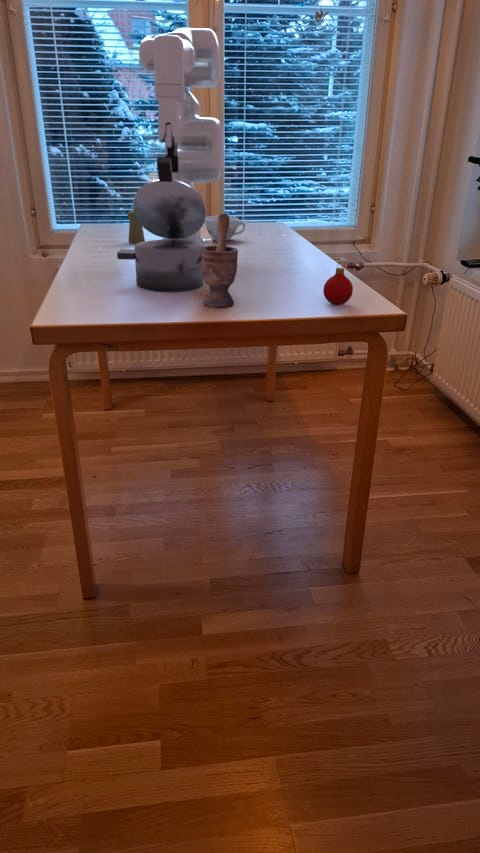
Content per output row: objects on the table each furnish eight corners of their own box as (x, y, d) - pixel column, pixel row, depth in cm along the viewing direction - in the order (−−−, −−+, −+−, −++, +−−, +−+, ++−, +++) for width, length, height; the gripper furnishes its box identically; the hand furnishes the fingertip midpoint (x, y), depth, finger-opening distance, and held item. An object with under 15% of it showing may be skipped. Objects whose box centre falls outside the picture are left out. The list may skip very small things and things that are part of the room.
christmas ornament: (324, 308, 139) (327, 266, 135) (320, 300, 145) (323, 259, 141) (353, 308, 139) (358, 266, 135) (348, 300, 146) (352, 260, 141)
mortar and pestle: (196, 296, 146) (195, 212, 137) (230, 295, 148) (231, 212, 139) (204, 309, 136) (203, 220, 127) (240, 307, 138) (241, 219, 129)
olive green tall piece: (141, 244, 207) (139, 211, 201) (125, 243, 208) (123, 211, 202) (147, 241, 212) (145, 209, 207) (131, 240, 213) (129, 208, 208)
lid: (139, 238, 161) (140, 230, 163) (207, 239, 161) (207, 232, 162) (123, 162, 140) (125, 154, 141) (202, 163, 139) (203, 156, 141)
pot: (128, 273, 167) (126, 237, 162) (221, 275, 167) (221, 239, 162) (114, 290, 150) (111, 251, 145) (217, 293, 149) (217, 253, 145)
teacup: (203, 242, 212) (203, 219, 208) (205, 236, 223) (205, 215, 219) (244, 243, 212) (245, 220, 208) (244, 237, 223) (245, 215, 219)
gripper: (159, 95, 154) (162, 170, 162) (150, 91, 141) (154, 173, 149) (187, 95, 154) (189, 171, 162) (181, 92, 141) (183, 174, 149)
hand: (172, 172), depth 156 cm, fingers closed
